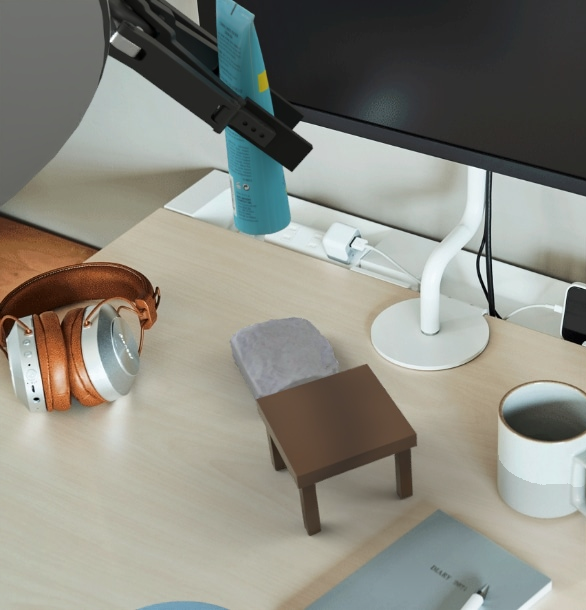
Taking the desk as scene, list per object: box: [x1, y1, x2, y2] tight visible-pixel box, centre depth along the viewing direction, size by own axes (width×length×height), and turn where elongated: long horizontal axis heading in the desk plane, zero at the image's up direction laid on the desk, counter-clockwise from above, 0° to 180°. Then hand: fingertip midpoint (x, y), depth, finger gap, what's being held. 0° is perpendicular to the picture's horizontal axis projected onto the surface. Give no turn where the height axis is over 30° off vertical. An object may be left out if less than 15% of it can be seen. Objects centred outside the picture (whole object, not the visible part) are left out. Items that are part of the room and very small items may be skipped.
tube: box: [215, 0, 292, 236], centre depth 76 cm, size 7×5×19 cm, turn 40°
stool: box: [255, 363, 418, 537], centre depth 85 cm, size 11×11×8 cm
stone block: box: [229, 316, 340, 400], centre depth 98 cm, size 12×5×10 cm
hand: (297, 141), depth 78 cm, fingers closed on tube, 6 cm apart
